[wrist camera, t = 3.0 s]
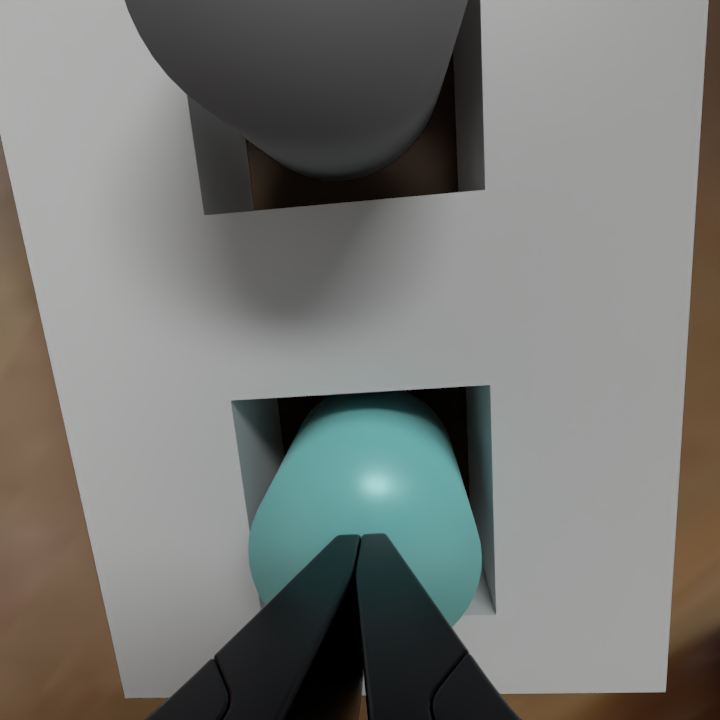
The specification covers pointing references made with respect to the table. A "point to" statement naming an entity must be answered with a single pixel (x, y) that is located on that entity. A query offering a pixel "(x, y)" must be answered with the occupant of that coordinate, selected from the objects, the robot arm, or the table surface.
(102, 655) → the table surface
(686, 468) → the table surface
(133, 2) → the key charcoal
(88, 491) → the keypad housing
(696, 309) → the table surface
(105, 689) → the table surface
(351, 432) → the key teal
